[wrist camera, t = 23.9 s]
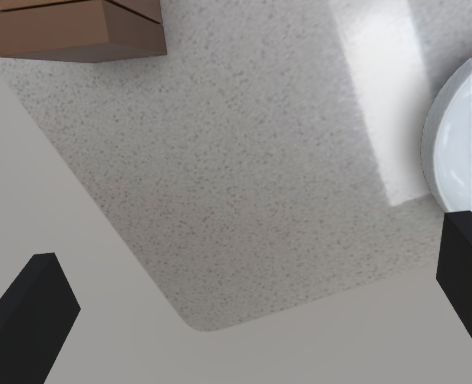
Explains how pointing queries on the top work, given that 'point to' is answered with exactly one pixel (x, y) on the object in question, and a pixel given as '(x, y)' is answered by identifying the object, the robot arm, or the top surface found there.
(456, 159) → the cereal bowl
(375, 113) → the top surface
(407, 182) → the top surface
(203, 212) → the top surface
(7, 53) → the brown books
